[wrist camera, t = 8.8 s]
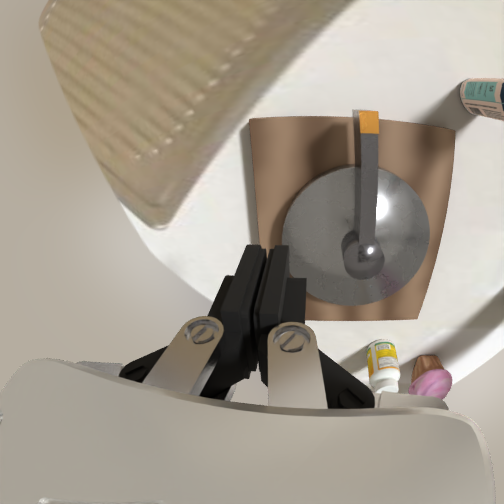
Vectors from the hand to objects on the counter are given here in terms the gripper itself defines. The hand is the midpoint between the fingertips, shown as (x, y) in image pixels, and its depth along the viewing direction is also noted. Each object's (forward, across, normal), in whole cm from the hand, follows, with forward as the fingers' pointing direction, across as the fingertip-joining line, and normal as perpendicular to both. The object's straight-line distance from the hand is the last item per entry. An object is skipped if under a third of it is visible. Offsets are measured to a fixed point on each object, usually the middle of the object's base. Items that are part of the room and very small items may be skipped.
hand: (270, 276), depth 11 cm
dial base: (+23, -8, +9) cm, 26 cm away
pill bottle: (+23, -24, -10) cm, 35 cm away
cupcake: (+23, -27, +37) cm, 51 cm away
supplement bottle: (+23, -16, +32) cm, 42 cm away
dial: (+21, -7, +6) cm, 23 cm away
